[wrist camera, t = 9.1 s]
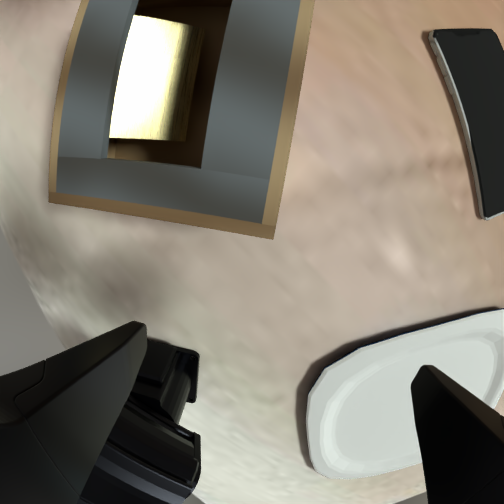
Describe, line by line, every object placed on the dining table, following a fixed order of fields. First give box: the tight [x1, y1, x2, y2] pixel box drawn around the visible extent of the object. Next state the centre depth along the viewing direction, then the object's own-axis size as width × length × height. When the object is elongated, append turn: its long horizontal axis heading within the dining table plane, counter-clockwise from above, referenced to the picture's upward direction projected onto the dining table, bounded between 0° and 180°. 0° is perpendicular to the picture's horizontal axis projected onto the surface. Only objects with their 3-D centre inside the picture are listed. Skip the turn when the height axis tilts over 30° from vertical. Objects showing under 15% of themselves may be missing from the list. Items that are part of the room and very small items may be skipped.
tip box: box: [49, 0, 315, 240], centre depth 14 cm, size 14×12×7 cm
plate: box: [306, 308, 504, 479], centre depth 25 cm, size 25×25×2 cm
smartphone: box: [428, 29, 504, 220], centre depth 15 cm, size 8×1×15 cm
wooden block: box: [109, 15, 206, 142], centre depth 14 cm, size 7×3×5 cm
